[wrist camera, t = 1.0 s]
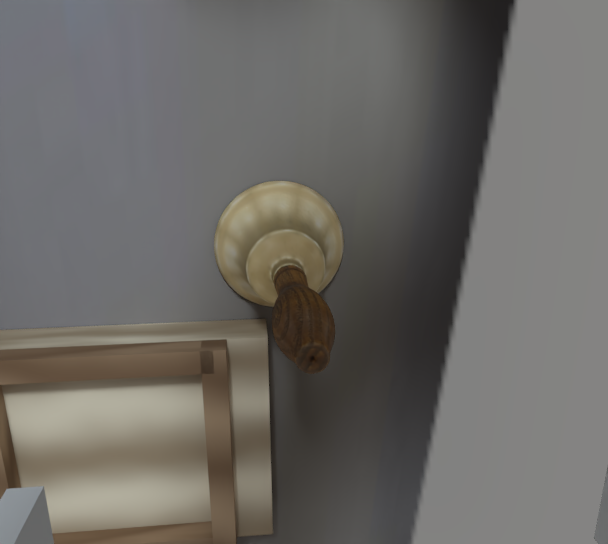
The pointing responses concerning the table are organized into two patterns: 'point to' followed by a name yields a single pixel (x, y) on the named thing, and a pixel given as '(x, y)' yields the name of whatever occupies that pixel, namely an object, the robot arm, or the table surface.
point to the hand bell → (284, 263)
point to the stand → (141, 429)
